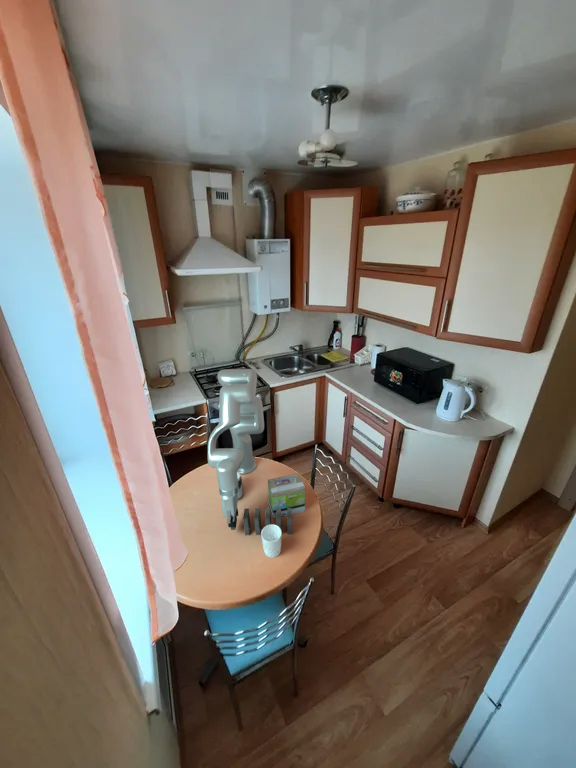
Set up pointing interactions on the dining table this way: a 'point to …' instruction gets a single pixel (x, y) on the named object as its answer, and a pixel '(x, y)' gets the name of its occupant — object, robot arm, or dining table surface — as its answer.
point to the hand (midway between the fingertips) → (233, 520)
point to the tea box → (286, 494)
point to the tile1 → (246, 521)
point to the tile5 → (289, 520)
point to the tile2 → (257, 521)
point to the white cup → (271, 540)
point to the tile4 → (279, 518)
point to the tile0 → (236, 522)
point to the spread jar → (240, 486)
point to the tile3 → (268, 517)
